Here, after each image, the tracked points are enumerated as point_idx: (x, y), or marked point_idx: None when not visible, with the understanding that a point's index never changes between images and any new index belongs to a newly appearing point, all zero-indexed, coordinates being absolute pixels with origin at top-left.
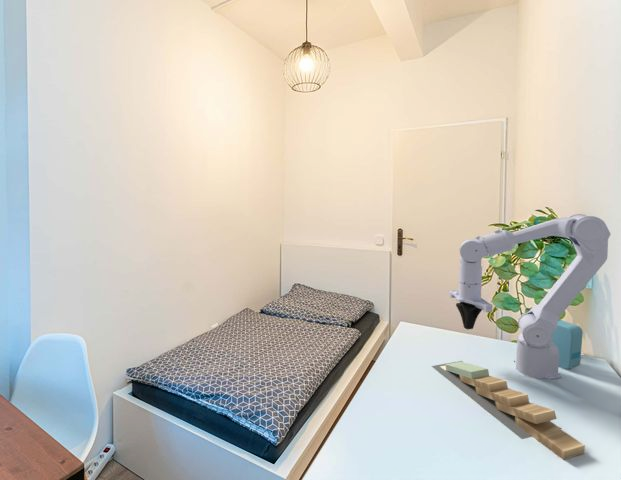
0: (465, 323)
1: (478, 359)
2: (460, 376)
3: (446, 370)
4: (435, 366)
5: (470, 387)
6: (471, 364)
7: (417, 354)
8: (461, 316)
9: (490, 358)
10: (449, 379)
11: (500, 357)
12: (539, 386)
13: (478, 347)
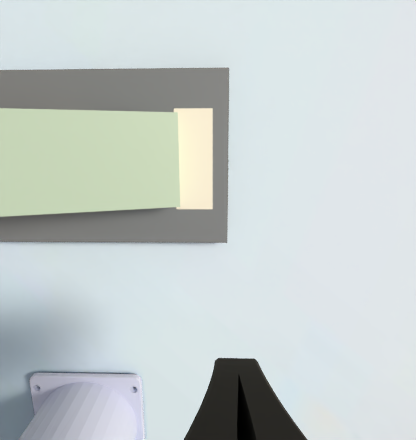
0: (226, 387)
1: (233, 326)
2: None
3: None
4: (219, 86)
5: None
6: (98, 210)
7: (378, 90)
8: (294, 434)
9: None
10: (98, 76)
11: None
12: (17, 375)
13: (320, 398)
